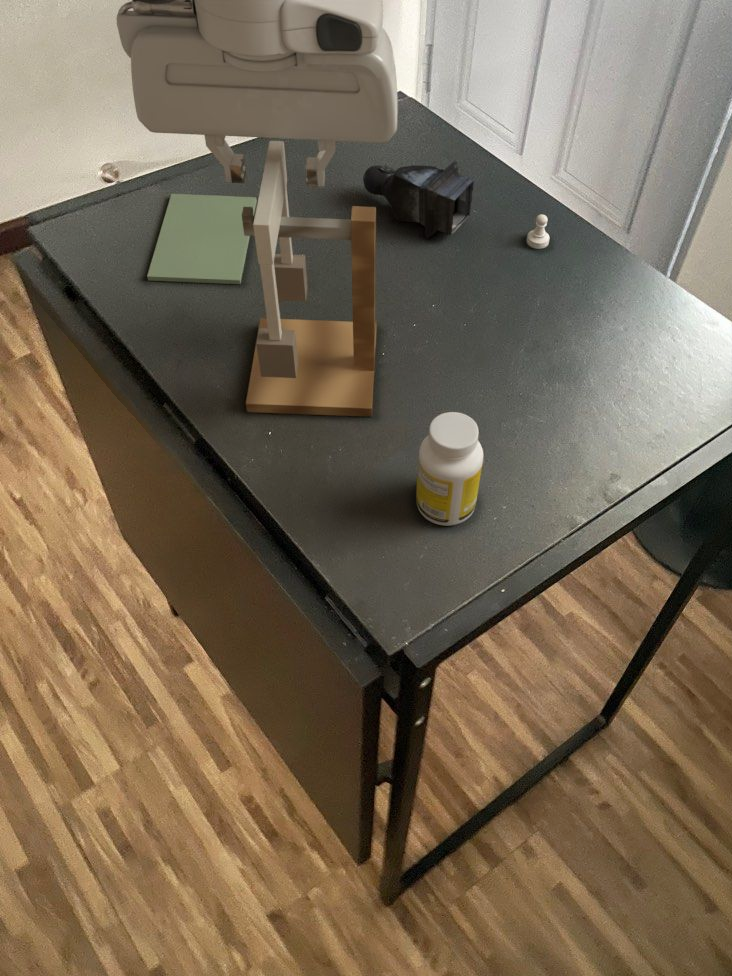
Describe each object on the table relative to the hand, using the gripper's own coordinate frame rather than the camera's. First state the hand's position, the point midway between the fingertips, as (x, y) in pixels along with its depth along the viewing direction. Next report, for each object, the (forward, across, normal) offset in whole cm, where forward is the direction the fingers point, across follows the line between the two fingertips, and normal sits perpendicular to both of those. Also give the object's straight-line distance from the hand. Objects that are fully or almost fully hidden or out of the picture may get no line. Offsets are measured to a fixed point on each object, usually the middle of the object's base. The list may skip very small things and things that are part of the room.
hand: (276, 181), depth 70 cm
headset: (+13, 0, -4) cm, 14 cm away
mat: (+18, -12, +16) cm, 27 cm away
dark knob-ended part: (+18, +12, +22) cm, 32 cm away
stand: (+18, +2, -4) cm, 19 cm away
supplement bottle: (+18, +16, -20) cm, 31 cm away
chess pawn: (+18, +26, +18) cm, 37 cm away
